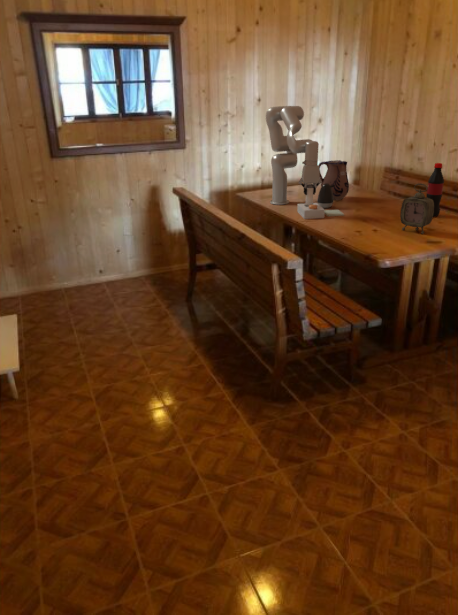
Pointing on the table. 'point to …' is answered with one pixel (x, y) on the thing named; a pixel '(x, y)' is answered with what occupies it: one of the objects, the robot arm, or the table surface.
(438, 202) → the cola bottle
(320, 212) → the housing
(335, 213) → the mat
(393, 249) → the table surface
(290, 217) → the table surface
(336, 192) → the ceramic pitcher
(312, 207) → the plunger
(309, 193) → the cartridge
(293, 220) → the table surface
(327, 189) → the pump dispenser
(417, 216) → the tabletop clock
